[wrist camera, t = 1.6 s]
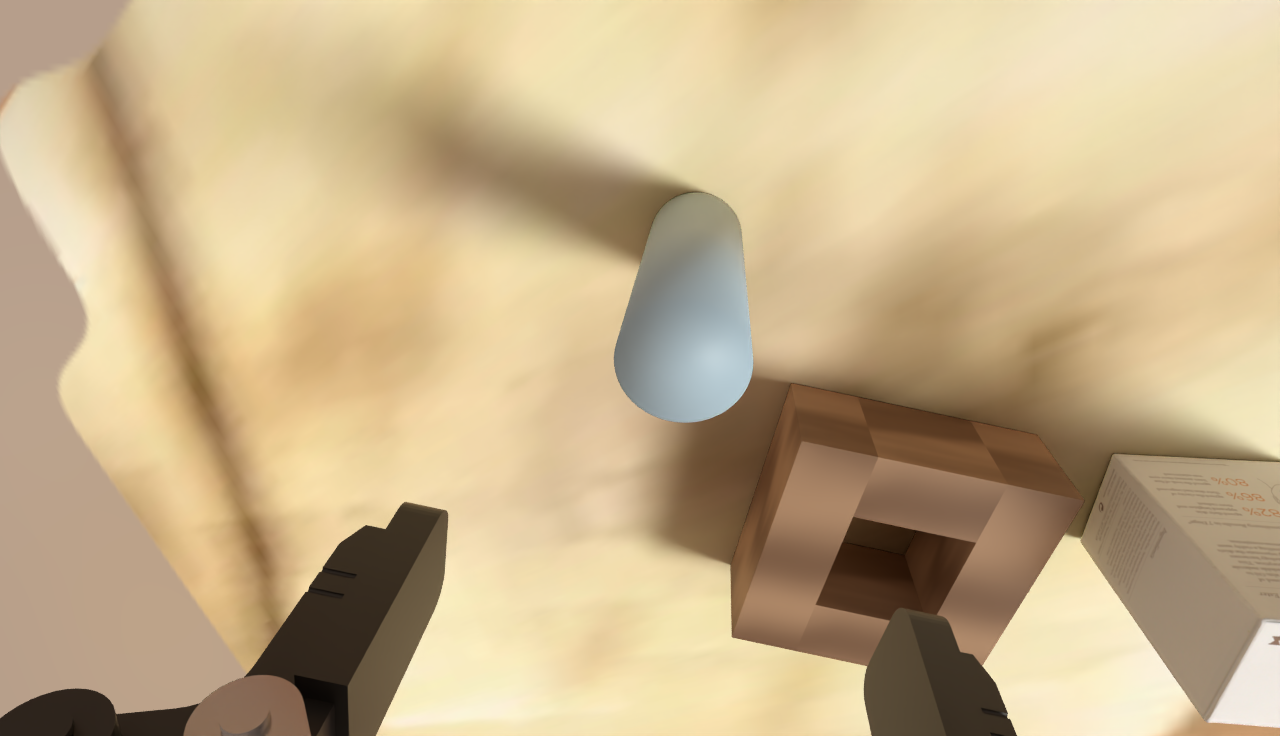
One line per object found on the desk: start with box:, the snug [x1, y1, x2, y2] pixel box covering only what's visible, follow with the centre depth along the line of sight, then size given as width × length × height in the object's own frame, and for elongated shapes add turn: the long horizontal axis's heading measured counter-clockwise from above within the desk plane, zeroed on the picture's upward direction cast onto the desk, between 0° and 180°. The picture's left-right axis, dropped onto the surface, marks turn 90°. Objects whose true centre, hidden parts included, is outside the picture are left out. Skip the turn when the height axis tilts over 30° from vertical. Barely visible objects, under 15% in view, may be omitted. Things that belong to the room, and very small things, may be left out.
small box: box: [1081, 454, 1280, 728], centre depth 30 cm, size 8×6×10 cm
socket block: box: [731, 383, 1085, 666], centre depth 34 cm, size 12×12×5 cm
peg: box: [614, 192, 753, 423], centre depth 25 cm, size 4×4×12 cm
